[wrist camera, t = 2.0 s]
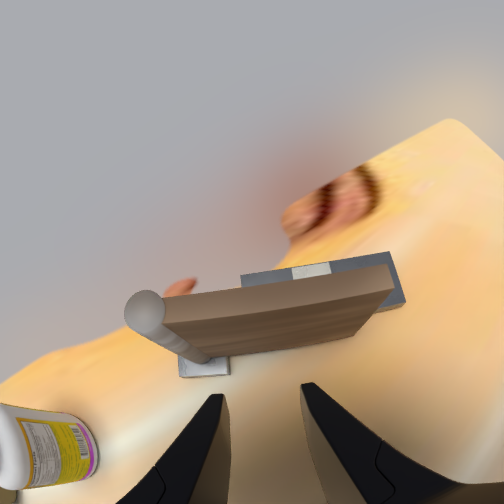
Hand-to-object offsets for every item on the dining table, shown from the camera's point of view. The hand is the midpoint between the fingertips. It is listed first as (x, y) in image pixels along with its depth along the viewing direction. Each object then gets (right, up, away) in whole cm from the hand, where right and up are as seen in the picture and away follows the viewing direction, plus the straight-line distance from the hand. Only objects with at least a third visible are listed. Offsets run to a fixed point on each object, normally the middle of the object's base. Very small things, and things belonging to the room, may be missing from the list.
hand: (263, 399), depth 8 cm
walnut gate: (+1, -2, +12) cm, 12 cm away
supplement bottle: (-16, -13, +10) cm, 23 cm away
